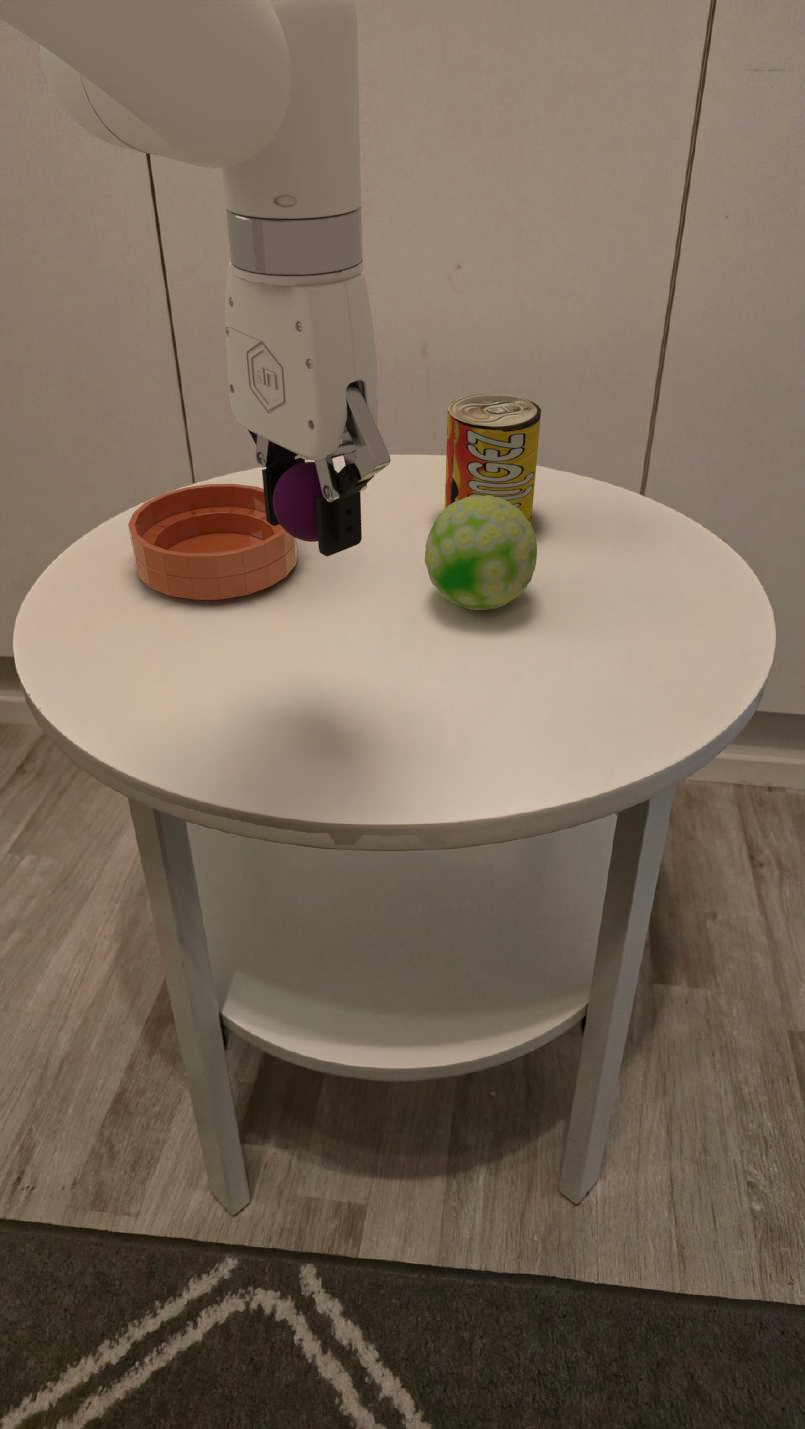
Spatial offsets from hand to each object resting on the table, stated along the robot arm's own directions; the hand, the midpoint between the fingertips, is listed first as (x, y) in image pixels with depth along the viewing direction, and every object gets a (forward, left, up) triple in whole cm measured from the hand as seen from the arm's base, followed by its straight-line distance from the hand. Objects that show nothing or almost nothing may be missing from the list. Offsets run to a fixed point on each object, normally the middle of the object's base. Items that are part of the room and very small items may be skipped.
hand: (313, 531), depth 67 cm
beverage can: (+26, +24, -16) cm, 39 cm away
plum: (0, 0, -1) cm, 1 cm away
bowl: (-2, +26, -15) cm, 31 cm away
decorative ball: (+18, +10, -16) cm, 26 cm away
